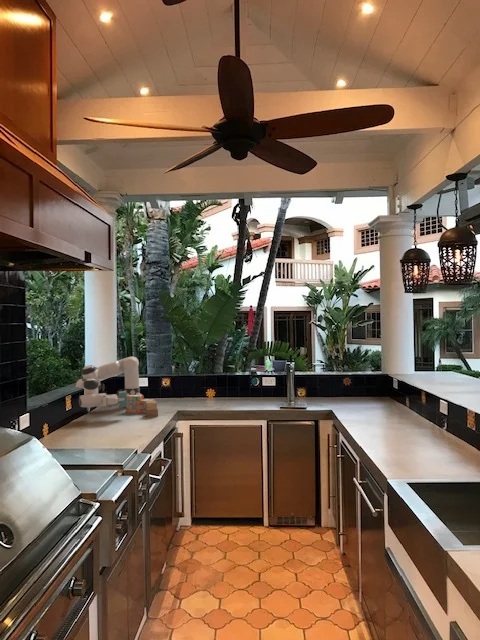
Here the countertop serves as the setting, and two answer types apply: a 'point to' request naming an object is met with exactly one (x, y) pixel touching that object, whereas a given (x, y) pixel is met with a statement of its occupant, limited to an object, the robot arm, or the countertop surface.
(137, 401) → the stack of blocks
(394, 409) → the countertop surface
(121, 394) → the teal block
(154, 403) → the tower top
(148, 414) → the tower base
